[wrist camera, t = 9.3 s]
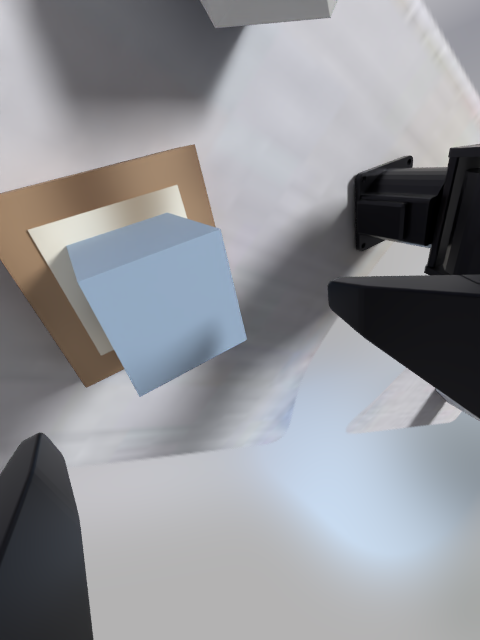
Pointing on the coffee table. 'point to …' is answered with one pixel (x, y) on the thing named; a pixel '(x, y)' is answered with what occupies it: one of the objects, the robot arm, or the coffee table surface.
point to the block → (160, 295)
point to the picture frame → (85, 222)
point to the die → (265, 11)
